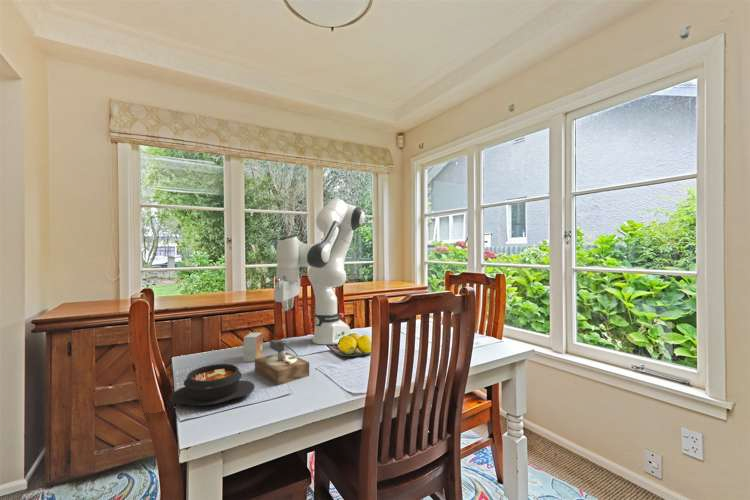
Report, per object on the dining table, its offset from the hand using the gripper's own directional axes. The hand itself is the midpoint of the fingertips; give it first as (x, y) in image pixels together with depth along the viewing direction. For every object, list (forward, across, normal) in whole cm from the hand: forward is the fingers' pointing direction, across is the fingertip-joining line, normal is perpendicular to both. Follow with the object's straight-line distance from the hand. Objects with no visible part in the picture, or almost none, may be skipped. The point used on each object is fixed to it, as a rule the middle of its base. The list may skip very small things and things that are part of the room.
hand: (287, 309), depth 140 cm
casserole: (+23, -30, +14) cm, 41 cm away
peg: (+18, -8, 0) cm, 19 cm away
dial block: (+23, -8, 0) cm, 25 cm away
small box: (+23, +7, +18) cm, 30 cm away
